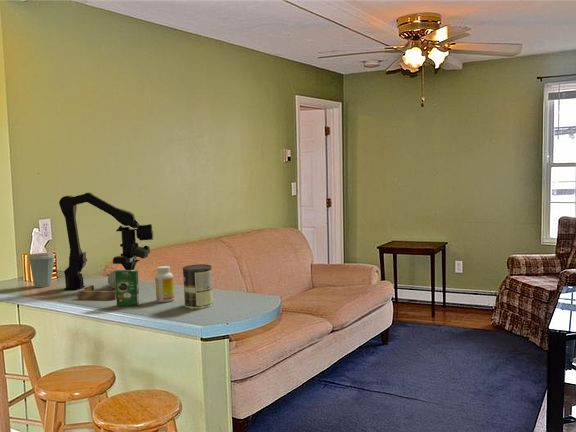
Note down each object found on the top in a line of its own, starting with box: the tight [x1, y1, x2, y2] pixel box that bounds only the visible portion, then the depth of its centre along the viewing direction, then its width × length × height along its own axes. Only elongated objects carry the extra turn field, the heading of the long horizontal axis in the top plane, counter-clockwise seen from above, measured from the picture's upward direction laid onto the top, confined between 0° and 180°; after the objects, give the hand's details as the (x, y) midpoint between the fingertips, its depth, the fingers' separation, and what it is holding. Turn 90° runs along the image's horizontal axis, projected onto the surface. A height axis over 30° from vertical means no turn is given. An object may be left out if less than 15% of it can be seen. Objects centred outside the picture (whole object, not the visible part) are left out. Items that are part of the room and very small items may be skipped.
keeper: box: [77, 284, 117, 301], centre depth 231 cm, size 18×11×3 cm, turn 76°
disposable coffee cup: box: [28, 252, 56, 288], centre depth 256 cm, size 11×11×15 cm
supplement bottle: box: [154, 265, 175, 303], centre depth 218 cm, size 7×7×13 cm
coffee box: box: [114, 269, 140, 307], centre depth 213 cm, size 8×3×13 cm, turn 87°
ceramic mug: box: [107, 270, 116, 290], centre depth 243 cm, size 11×8×8 cm
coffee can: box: [182, 263, 214, 310], centre depth 209 cm, size 10×10×14 cm
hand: (130, 276), depth 252 cm, fingers closed
